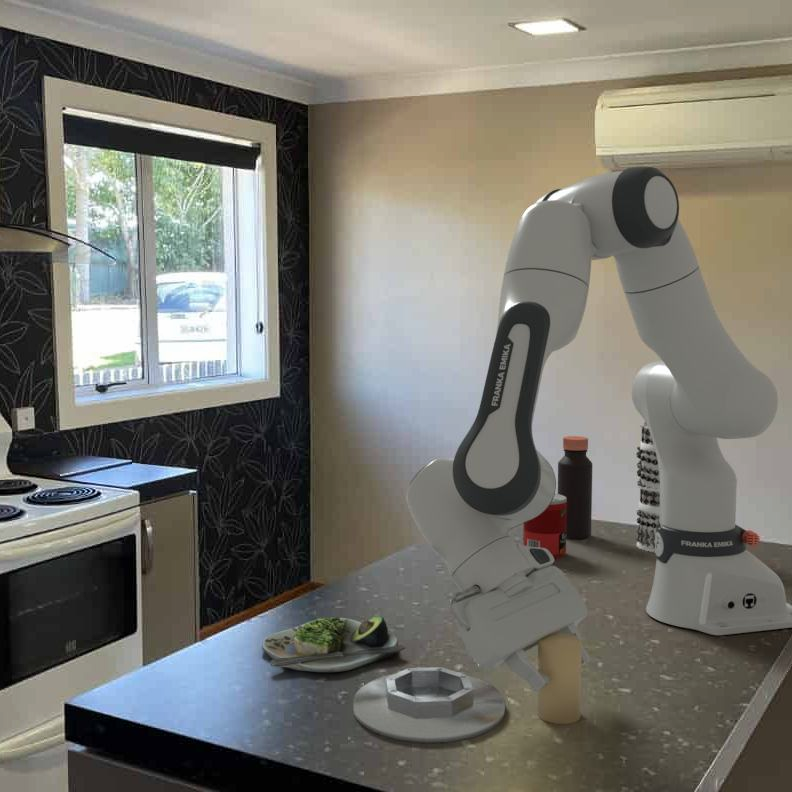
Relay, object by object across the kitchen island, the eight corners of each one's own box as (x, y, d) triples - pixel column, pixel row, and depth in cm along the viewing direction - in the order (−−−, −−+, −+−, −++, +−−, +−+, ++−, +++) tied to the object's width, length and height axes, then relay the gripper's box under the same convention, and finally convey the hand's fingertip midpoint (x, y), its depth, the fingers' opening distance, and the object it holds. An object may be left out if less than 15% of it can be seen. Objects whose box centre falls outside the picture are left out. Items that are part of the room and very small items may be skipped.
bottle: (556, 539, 195) (558, 440, 193) (557, 531, 202) (558, 435, 199) (591, 540, 194) (593, 440, 192) (590, 532, 200) (592, 435, 198)
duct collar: (490, 676, 126) (491, 653, 126) (518, 739, 108) (518, 713, 108) (351, 680, 125) (351, 657, 125) (356, 745, 107) (355, 719, 107)
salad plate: (309, 695, 121) (309, 659, 121) (229, 656, 134) (228, 624, 134) (421, 655, 134) (421, 623, 134) (337, 623, 147) (337, 594, 147)
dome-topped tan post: (574, 705, 117) (575, 632, 116) (585, 723, 112) (586, 647, 111) (533, 706, 117) (534, 633, 116) (542, 724, 112) (543, 649, 111)
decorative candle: (624, 547, 189) (627, 418, 186) (651, 538, 195) (654, 414, 193) (666, 556, 182) (669, 423, 180) (692, 547, 189) (696, 418, 186)
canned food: (569, 559, 180) (570, 501, 179) (525, 559, 180) (526, 501, 179) (562, 548, 188) (563, 492, 187) (520, 548, 188) (521, 492, 187)
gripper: (458, 583, 110) (531, 689, 104) (555, 546, 125) (623, 637, 120) (427, 613, 113) (496, 718, 108) (525, 573, 128) (590, 664, 123)
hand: (564, 675), depth 114 cm, fingers open, 8 cm apart
